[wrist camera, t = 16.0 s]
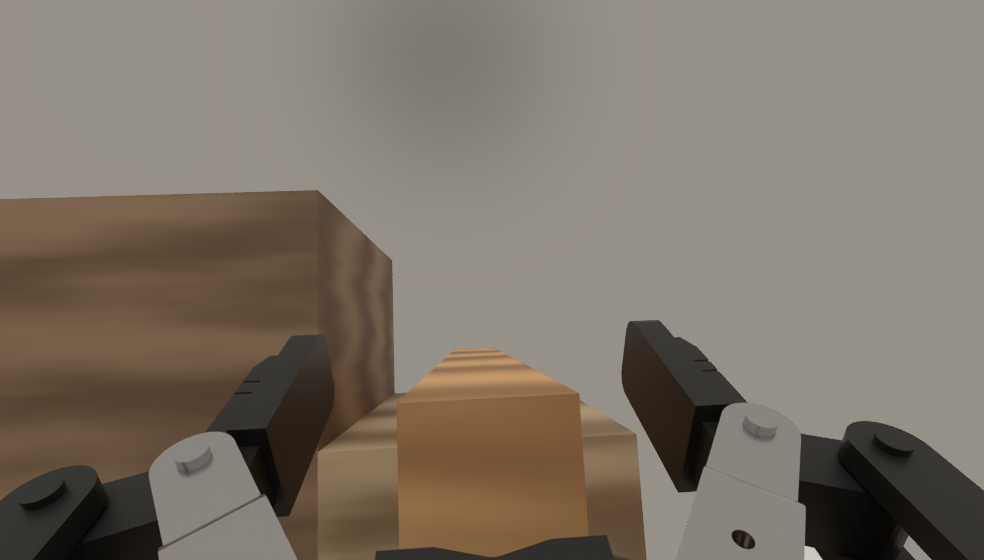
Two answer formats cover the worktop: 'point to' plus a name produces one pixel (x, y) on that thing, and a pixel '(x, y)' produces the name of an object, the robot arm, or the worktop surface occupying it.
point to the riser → (224, 351)
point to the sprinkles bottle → (811, 554)
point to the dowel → (489, 457)
